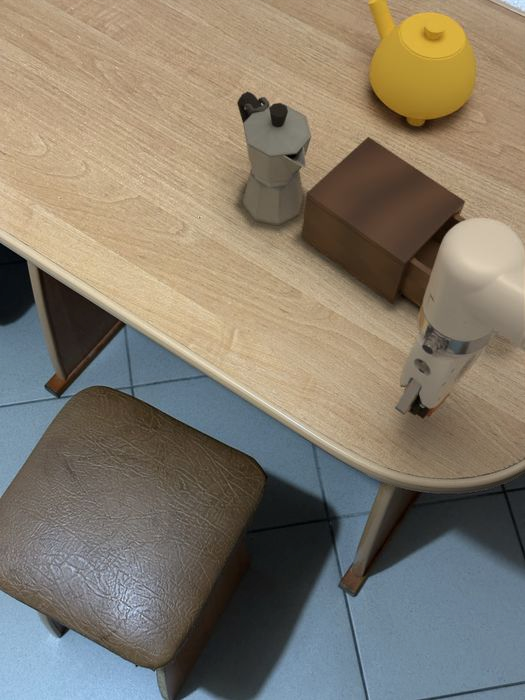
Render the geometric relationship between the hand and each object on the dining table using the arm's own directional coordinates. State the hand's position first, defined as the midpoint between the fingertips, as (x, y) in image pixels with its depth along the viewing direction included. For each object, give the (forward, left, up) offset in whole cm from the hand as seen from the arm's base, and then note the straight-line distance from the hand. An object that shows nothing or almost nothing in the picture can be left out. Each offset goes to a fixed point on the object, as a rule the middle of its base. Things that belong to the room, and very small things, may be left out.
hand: (426, 395), depth 99 cm
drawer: (+7, -17, -5) cm, 19 cm away
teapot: (+34, -43, -6) cm, 55 cm away
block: (0, 0, 0) cm, 0 cm away
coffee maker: (+36, -13, -6) cm, 38 cm away
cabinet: (+20, -17, -5) cm, 26 cm away
